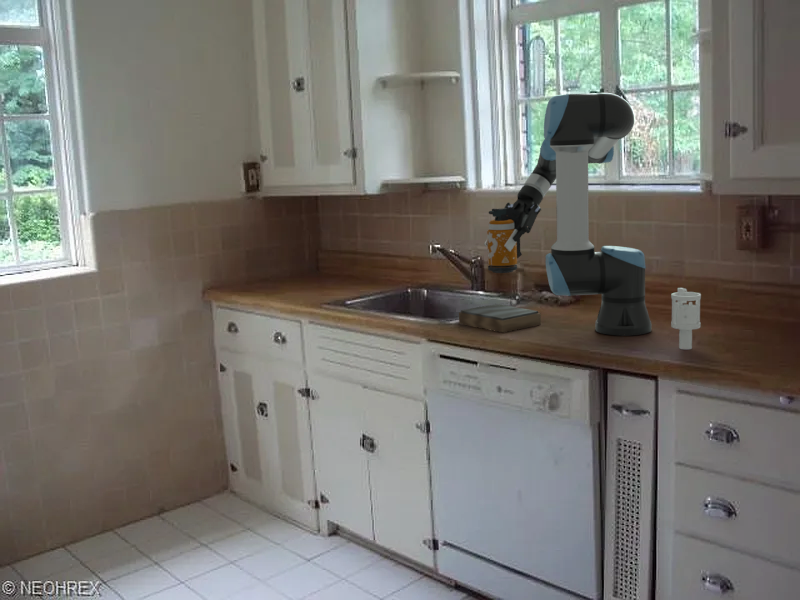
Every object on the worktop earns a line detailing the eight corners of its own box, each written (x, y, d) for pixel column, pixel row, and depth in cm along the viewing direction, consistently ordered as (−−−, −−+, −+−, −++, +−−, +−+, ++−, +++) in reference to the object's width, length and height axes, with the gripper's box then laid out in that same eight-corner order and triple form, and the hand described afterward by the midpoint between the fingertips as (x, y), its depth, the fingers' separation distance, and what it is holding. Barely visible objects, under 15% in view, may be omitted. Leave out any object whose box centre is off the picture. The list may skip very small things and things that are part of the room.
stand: (540, 324, 270) (540, 311, 269) (502, 332, 261) (502, 318, 260) (496, 316, 285) (496, 303, 284) (459, 323, 276) (458, 310, 276)
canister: (483, 271, 291) (481, 207, 288) (513, 267, 295) (512, 205, 292) (497, 274, 283) (495, 209, 279) (528, 271, 287) (527, 206, 284)
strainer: (692, 344, 238) (692, 286, 236) (705, 350, 231) (706, 290, 229) (666, 346, 237) (666, 288, 234) (678, 352, 230) (679, 292, 228)
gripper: (564, 200, 286) (527, 257, 279) (516, 199, 303) (480, 252, 296) (551, 184, 282) (514, 241, 275) (503, 183, 299) (467, 237, 292)
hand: (497, 247), depth 286 cm, fingers closed on canister, 9 cm apart
